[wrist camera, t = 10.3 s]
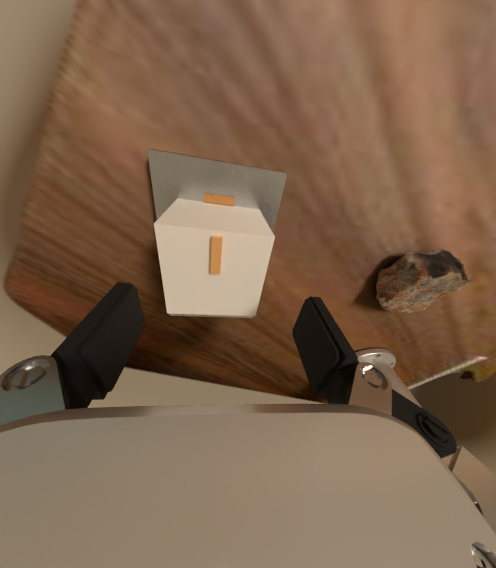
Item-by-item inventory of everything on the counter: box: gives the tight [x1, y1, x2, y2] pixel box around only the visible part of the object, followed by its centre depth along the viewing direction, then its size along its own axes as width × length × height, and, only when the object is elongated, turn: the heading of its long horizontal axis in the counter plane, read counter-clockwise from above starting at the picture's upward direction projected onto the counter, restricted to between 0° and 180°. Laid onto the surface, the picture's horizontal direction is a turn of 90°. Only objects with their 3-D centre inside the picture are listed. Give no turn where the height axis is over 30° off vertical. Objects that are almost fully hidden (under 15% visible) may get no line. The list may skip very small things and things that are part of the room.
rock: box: [376, 249, 472, 313], centre depth 22 cm, size 9×6×10 cm
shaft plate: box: [147, 149, 287, 318], centre depth 17 cm, size 16×10×4 cm, turn 171°
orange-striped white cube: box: [154, 198, 275, 316], centre depth 14 cm, size 7×7×6 cm
